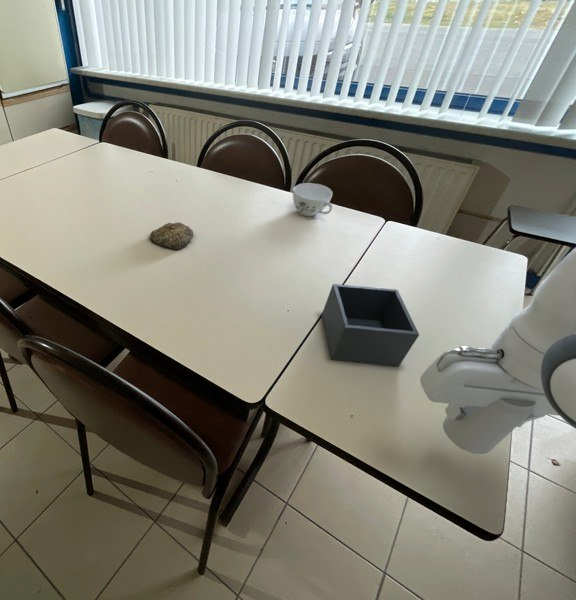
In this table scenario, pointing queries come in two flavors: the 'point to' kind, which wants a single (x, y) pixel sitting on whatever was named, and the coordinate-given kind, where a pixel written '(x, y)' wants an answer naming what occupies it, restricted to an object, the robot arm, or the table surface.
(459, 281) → the table surface
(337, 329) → the waste bin
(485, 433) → the beverage can
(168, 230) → the speckled grey pebble
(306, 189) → the teacup
